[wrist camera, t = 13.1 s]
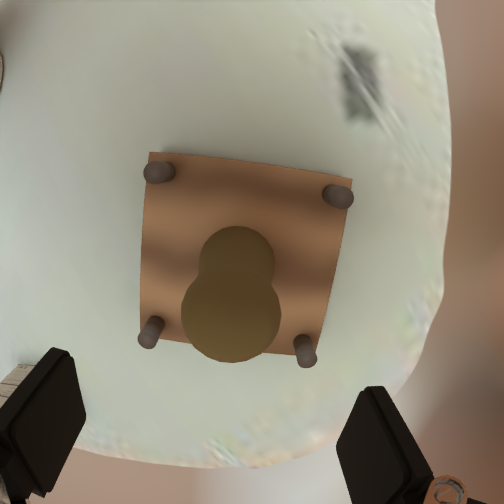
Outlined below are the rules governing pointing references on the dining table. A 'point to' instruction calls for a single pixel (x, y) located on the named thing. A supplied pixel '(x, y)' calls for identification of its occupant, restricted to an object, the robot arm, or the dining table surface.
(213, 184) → the shelf board
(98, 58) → the dining table surface
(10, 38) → the dining table surface
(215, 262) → the brown rounded piece
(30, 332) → the dining table surface
